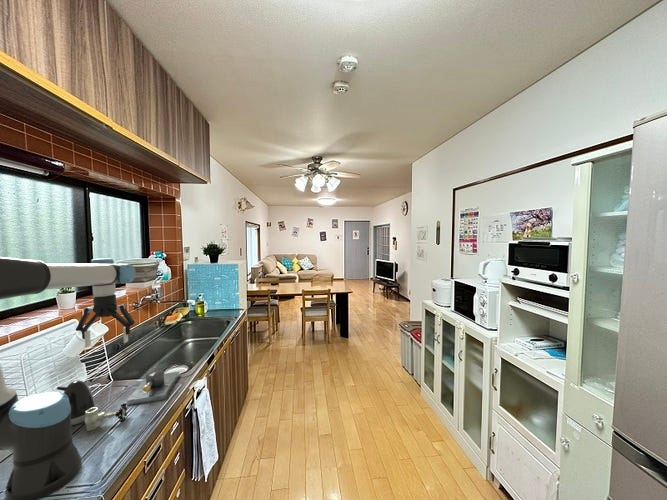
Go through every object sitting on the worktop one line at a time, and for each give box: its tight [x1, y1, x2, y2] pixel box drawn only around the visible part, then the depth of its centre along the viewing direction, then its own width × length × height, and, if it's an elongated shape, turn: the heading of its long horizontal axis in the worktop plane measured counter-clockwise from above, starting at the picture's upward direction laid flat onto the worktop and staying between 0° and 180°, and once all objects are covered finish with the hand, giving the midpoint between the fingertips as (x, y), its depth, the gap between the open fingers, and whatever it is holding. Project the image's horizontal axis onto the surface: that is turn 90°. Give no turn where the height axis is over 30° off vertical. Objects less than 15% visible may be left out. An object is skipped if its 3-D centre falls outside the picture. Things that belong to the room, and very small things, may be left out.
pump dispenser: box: [56, 380, 96, 426], centre depth 107 cm, size 10×10×15 cm
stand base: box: [126, 367, 180, 406], centre depth 129 cm, size 22×14×6 cm, turn 15°
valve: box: [84, 402, 128, 432], centre depth 105 cm, size 7×7×12 cm
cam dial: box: [143, 369, 165, 392], centre depth 126 cm, size 16×7×5 cm, turn 15°
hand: (107, 344), depth 121 cm, fingers open, 13 cm apart
